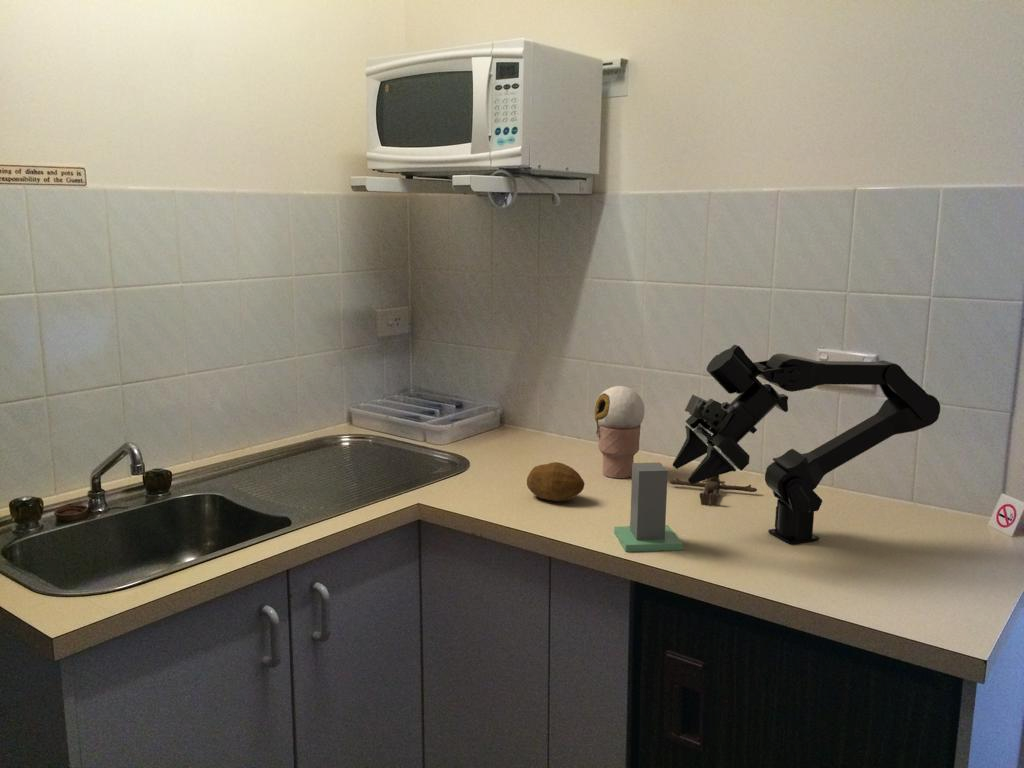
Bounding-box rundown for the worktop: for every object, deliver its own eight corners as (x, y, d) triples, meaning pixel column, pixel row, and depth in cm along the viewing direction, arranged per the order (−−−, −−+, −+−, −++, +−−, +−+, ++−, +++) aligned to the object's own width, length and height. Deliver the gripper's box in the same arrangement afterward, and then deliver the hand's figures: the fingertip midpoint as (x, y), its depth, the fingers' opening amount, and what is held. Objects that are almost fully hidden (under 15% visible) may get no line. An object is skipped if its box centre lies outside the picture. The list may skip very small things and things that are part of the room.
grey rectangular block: (657, 529, 157) (659, 462, 154) (664, 539, 152) (667, 470, 149) (629, 530, 156) (632, 463, 154) (636, 540, 151) (639, 471, 149)
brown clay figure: (663, 488, 175) (672, 462, 189) (662, 507, 176) (671, 481, 190) (755, 497, 170) (758, 470, 183) (754, 517, 171) (757, 489, 185)
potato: (532, 490, 183) (533, 454, 181) (589, 496, 178) (590, 460, 177) (519, 501, 175) (520, 464, 174) (579, 509, 171) (580, 471, 169)
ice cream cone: (583, 473, 194) (585, 385, 191) (616, 464, 201) (619, 380, 198) (618, 484, 186) (621, 393, 182) (652, 475, 193) (655, 387, 189)
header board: (667, 531, 159) (668, 517, 158) (682, 549, 150) (682, 535, 150) (614, 532, 158) (614, 519, 157) (625, 551, 149) (625, 537, 149)
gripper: (698, 370, 159) (637, 430, 160) (734, 390, 141) (665, 458, 142) (738, 411, 161) (677, 470, 162) (778, 436, 143) (710, 503, 144)
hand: (681, 474), depth 152 cm, fingers open, 9 cm apart
